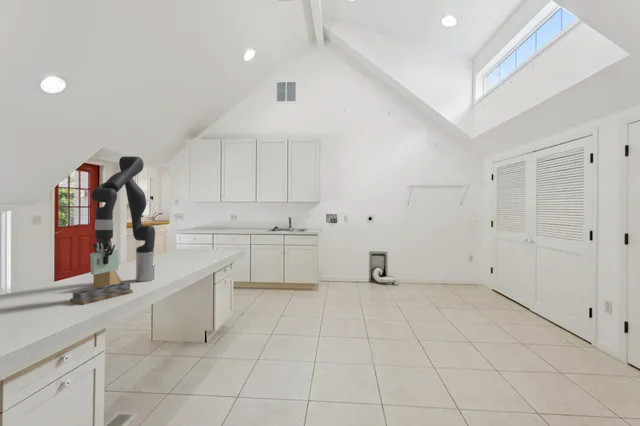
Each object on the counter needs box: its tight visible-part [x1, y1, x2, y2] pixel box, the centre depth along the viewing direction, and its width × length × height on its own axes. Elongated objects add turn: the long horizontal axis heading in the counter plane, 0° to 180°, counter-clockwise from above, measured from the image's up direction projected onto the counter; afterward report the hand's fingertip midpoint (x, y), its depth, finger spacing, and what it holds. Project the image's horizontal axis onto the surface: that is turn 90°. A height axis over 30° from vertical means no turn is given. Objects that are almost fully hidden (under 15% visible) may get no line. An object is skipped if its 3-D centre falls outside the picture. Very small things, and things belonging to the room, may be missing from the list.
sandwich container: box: [93, 270, 124, 288], centre depth 187 cm, size 9×15×15 cm, turn 6°
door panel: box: [89, 249, 119, 276], centre depth 164 cm, size 12×3×10 cm, turn 157°
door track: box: [69, 282, 133, 305], centre depth 163 cm, size 24×10×4 cm, turn 157°
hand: (103, 263), depth 163 cm, fingers closed on door panel, 2 cm apart
